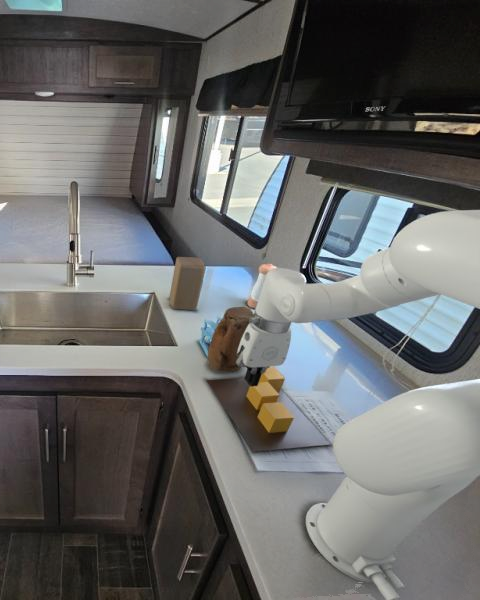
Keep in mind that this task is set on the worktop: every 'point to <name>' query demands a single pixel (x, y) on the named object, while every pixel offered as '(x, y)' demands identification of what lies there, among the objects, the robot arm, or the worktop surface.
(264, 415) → the ochre block
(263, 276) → the pepper shaker
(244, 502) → the worktop surface
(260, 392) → the ochre block
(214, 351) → the brown rounded lump
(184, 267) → the wooden block
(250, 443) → the mat
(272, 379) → the ochre block
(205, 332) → the light blue crumpled piece
